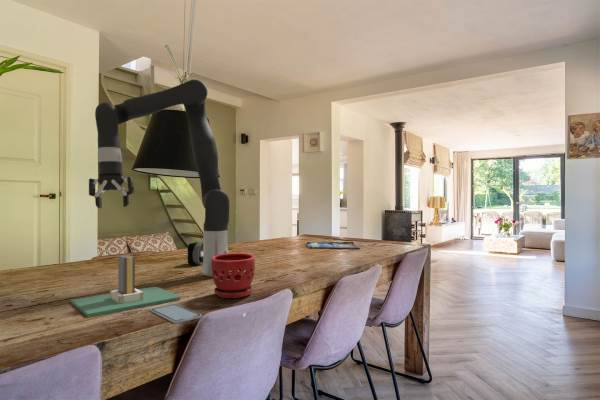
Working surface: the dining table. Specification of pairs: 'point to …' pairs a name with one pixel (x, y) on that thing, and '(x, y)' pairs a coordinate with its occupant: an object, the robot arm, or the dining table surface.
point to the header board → (122, 301)
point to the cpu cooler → (195, 253)
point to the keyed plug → (126, 274)
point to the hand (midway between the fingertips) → (112, 207)
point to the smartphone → (175, 313)
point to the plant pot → (233, 274)
